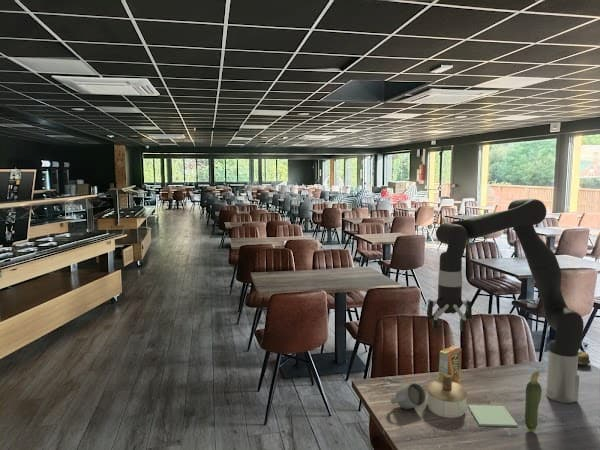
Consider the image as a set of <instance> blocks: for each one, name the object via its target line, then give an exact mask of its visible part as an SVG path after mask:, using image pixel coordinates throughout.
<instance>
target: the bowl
mask: <svg viewBox="0 0 600 450" xmlns="http://www.w3.org/2000/svg"><path fill="white" fill-rule="evenodd" d="M426 393H427V394H426V401H427V402H426V403H427V407H428V410H429V411H430V412H431V413H433V414H434V415H437V416H439V417H441V416H442V417H443V418H447V419H456V418H461V417H463V416H464V415H465V412H466V411H467V398H466V399H464V400H462V401H458V402H447V401H442V400H439V399H436V398H434V397H432V396H431V395H430V394H429V393H428V391H427V390H426Z"/></svg>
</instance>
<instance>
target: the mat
mask: <svg viewBox="0 0 600 450" xmlns="http://www.w3.org/2000/svg"><path fill="white" fill-rule="evenodd" d="M467 407H468V409H469V410H470V412H471V414H472V416H473V417H474V419H475V421H476V423H477V424H478V426H480V427H481V426H485V427H512V428H513V427H515V428H519V427H518V426H519V424H518V423H517V422H516V420H515V419H514V417H512V415H511V414H510V413H509V411H508V410H507V409H506V407H505V406H504V405H489V404H488V405H482V404H481V405H479V404H468V405H467Z"/></svg>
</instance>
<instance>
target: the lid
mask: <svg viewBox="0 0 600 450" xmlns="http://www.w3.org/2000/svg"><path fill="white" fill-rule="evenodd" d="M426 389H427V390H426V392H427V391H428V393H429V394H430V395H431V396H432V397H434V398H436V399H439V400H442V401H447V402H458V401H462V400H464V399H466V400H467V397H468V390H467V388H466V387H464V386H463V385H462V384H461V383H460V384H458V383H455V382H452V376H450V375H443V381H439V380H434V381H431V382H429V383H428V385H427V387H426Z"/></svg>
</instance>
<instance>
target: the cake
mask: <svg viewBox="0 0 600 450" xmlns="http://www.w3.org/2000/svg"><path fill="white" fill-rule="evenodd" d="M590 363H591V361H590V356H589V354H588V353H587V352H585V351H583V350H580V351H578V365H588V364H590Z"/></svg>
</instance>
